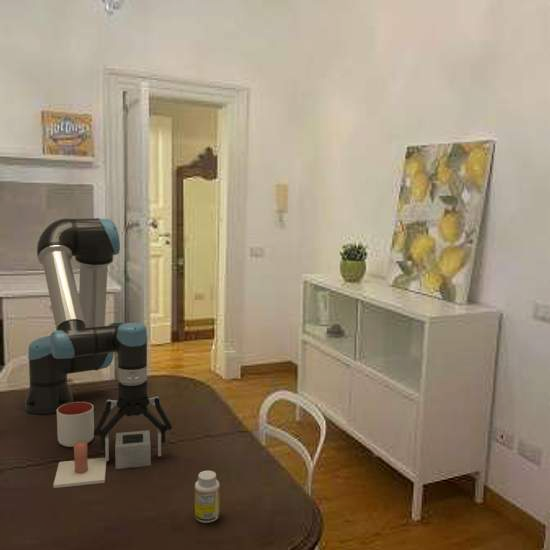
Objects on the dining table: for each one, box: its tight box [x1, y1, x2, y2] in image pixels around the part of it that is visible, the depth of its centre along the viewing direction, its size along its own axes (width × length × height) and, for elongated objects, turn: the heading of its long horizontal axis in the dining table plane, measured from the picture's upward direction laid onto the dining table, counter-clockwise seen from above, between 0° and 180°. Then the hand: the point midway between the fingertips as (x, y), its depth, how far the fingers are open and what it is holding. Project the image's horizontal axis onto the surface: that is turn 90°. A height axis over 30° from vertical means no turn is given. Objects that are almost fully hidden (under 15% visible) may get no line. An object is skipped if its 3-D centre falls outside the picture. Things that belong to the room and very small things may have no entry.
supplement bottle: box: [194, 470, 221, 524], centre depth 124 cm, size 6×6×10 cm
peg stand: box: [53, 441, 107, 489], centre depth 141 cm, size 12×12×8 cm
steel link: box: [114, 429, 152, 470], centre depth 149 cm, size 9×9×6 cm
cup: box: [56, 401, 95, 448], centre depth 159 cm, size 10×10×10 cm
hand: (133, 456), depth 150 cm, fingers open, 13 cm apart
